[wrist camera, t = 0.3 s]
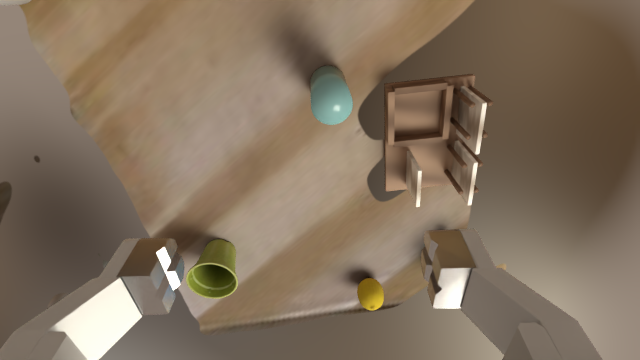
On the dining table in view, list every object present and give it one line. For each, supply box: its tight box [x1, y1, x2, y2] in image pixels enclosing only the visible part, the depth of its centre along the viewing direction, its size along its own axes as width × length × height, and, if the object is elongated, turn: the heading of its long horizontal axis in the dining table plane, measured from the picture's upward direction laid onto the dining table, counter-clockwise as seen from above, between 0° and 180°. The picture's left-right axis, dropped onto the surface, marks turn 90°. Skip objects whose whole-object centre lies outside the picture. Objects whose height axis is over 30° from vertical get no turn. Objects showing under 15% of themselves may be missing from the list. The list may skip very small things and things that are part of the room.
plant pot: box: [186, 239, 238, 299], centre depth 70 cm, size 9×9×9 cm
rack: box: [384, 74, 493, 207], centre depth 58 cm, size 20×14×9 cm
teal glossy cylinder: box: [310, 66, 353, 125], centre depth 52 cm, size 6×6×10 cm
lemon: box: [357, 278, 384, 310], centre depth 76 cm, size 6×6×8 cm
